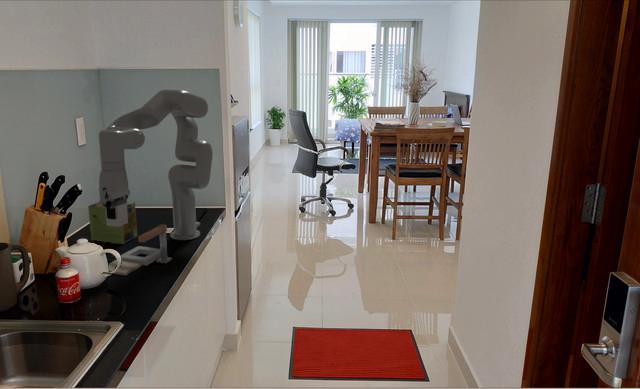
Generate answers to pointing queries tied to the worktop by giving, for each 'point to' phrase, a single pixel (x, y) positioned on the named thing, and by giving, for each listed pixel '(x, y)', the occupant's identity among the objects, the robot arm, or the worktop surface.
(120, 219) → the plug
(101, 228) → the protein box
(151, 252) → the socket block
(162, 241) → the clip post
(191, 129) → the robot arm
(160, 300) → the worktop surface
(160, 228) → the clip
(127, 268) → the birch board
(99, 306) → the worktop surface
